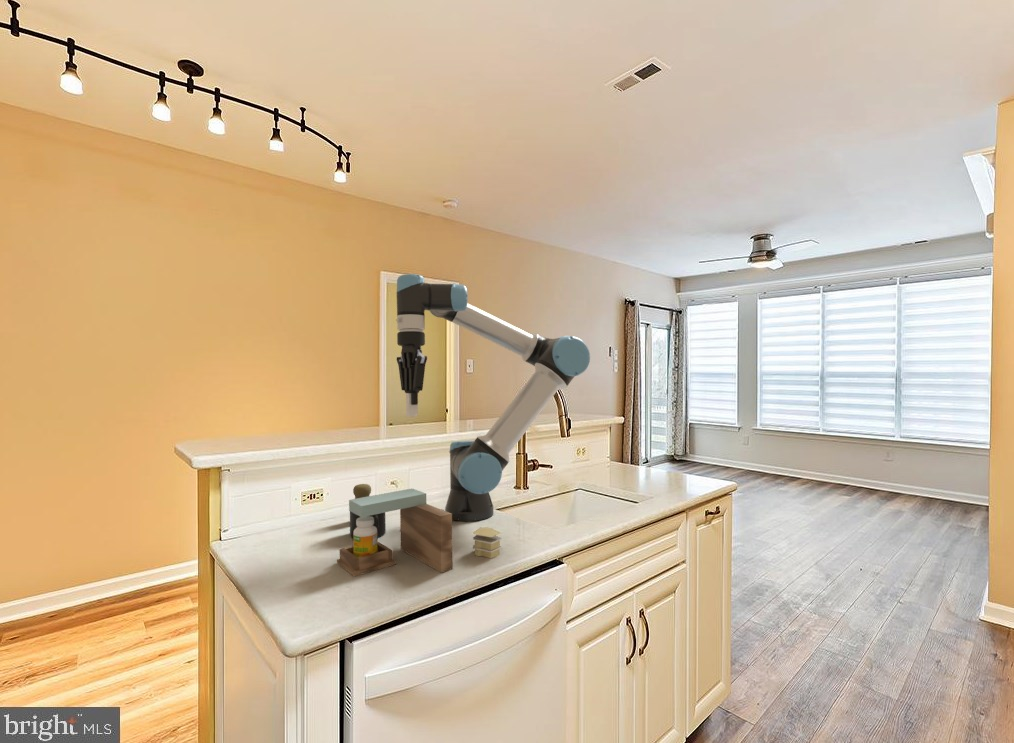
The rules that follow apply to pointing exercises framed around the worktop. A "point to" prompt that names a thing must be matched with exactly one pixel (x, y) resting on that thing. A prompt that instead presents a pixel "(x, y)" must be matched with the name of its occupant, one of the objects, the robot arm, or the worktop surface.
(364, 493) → the cork
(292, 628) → the worktop surface
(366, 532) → the supplement bottle
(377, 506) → the plank
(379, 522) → the mug
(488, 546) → the pale yellow layered block
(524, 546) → the worktop surface
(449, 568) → the wall
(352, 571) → the brown wooden square tray
